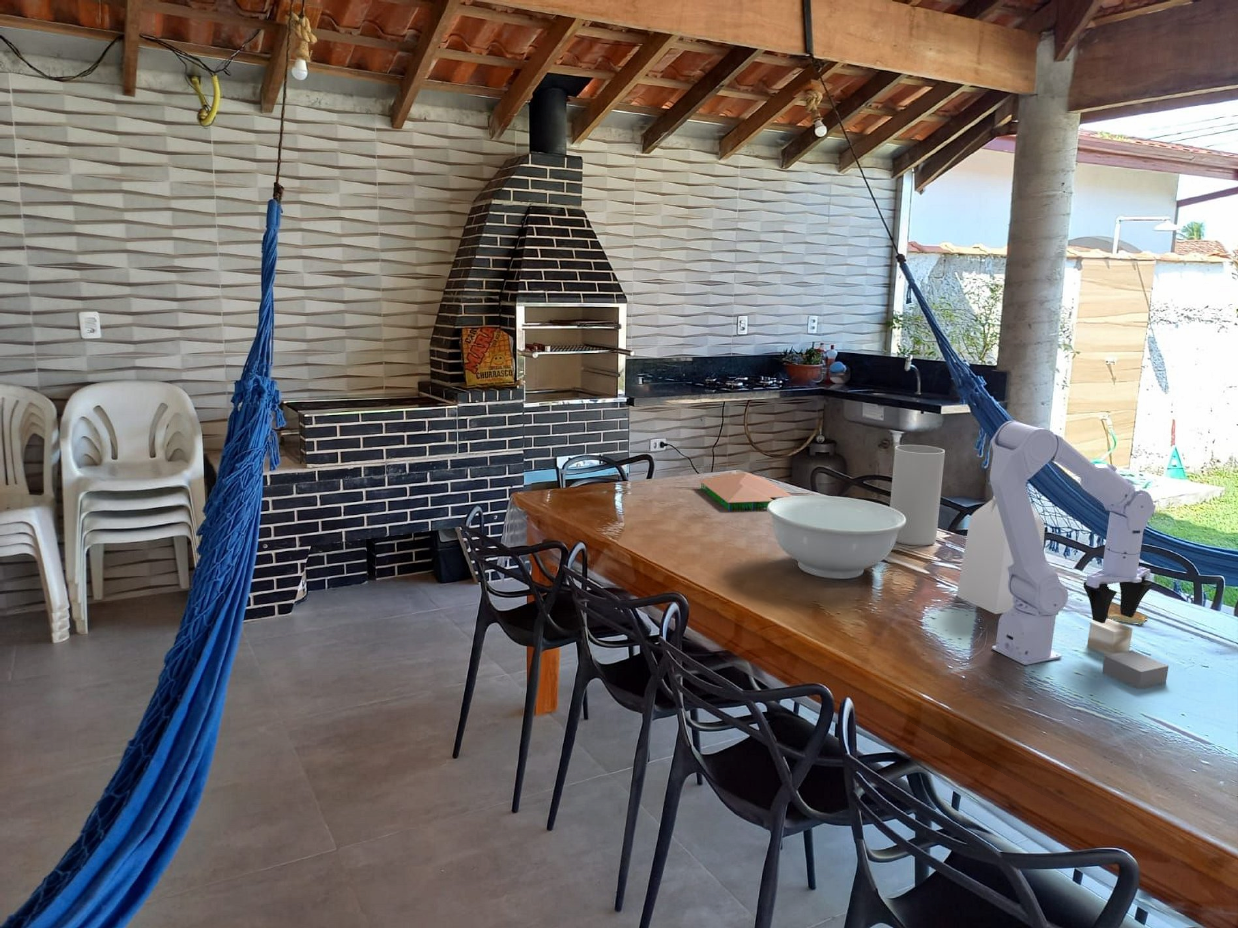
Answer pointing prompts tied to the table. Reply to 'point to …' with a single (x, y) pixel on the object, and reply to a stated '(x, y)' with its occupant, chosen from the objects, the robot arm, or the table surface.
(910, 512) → the cylinder vase
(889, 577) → the table surface
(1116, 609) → the shard
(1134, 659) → the gray base block
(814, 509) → the bowl
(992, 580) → the milk
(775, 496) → the house
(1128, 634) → the cream cube
